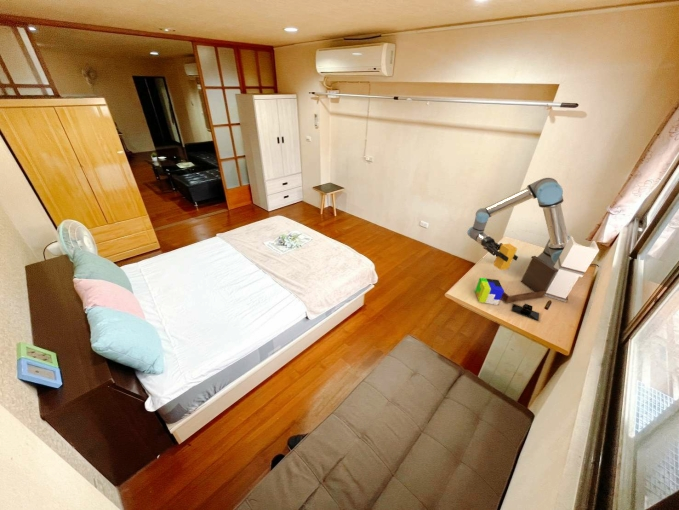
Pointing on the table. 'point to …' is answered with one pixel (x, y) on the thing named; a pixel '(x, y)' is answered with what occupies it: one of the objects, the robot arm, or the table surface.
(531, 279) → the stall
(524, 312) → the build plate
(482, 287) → the puzzle toy
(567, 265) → the white stepped block
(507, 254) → the yellow block
